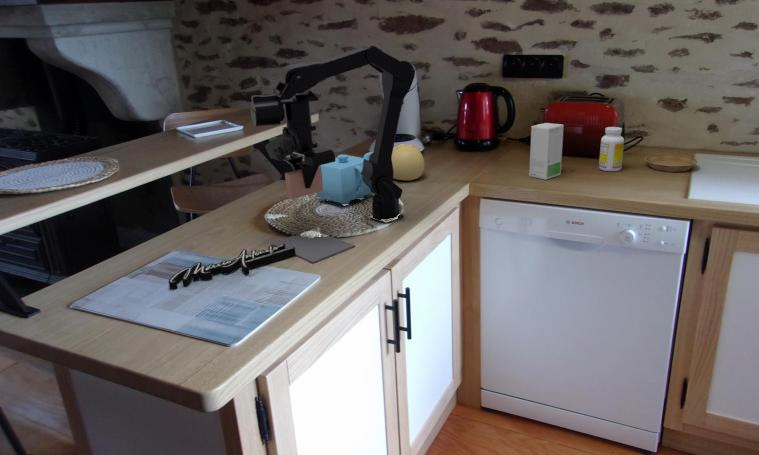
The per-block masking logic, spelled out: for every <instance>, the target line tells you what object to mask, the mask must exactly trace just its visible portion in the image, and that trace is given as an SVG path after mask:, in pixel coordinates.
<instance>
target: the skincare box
mask: <svg viewBox="0 0 759 455" xmlns="http://www.w3.org/2000/svg"><path fill="white" fill-rule="evenodd" d="M564 127H565V125H564V124H561V123H551V122H544V123H539V124H536V125H531V129H530V130H531V131H530V150H529V151H530V152H529V171H528V176H529V177H530V178H536V179H540V180H545V181H547V180H549V179H553V178H554V177H558V176H561V172H562V159H563V158H562V157H563V156H562V155H563V143H564V142H563V141H564Z"/></svg>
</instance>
